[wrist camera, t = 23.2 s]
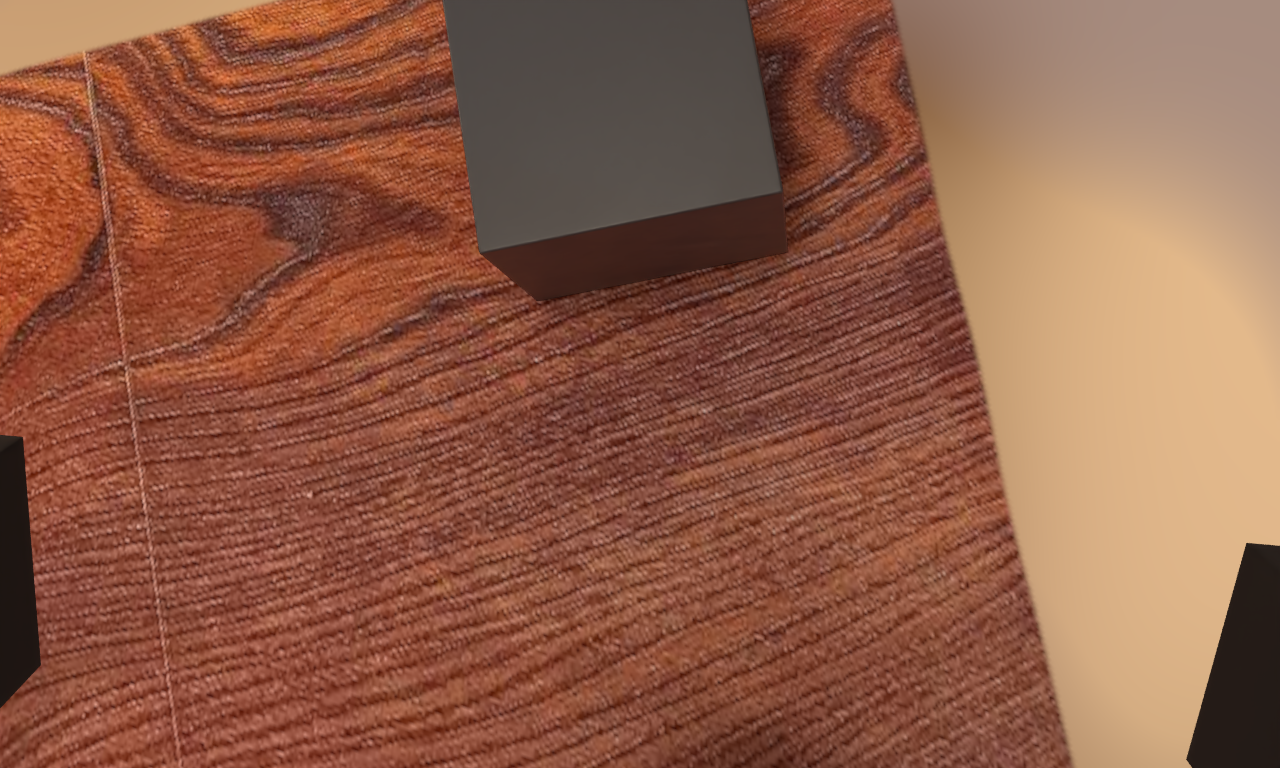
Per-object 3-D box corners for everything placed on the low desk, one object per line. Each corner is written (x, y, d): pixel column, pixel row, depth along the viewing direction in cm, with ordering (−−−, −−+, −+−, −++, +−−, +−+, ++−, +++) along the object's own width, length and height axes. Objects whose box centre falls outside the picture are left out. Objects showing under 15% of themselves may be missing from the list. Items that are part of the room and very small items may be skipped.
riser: (743, 10, 45) (728, -99, 37) (788, 252, 44) (783, 192, 36) (500, 64, 47) (437, -30, 39) (536, 301, 45) (478, 253, 37)
